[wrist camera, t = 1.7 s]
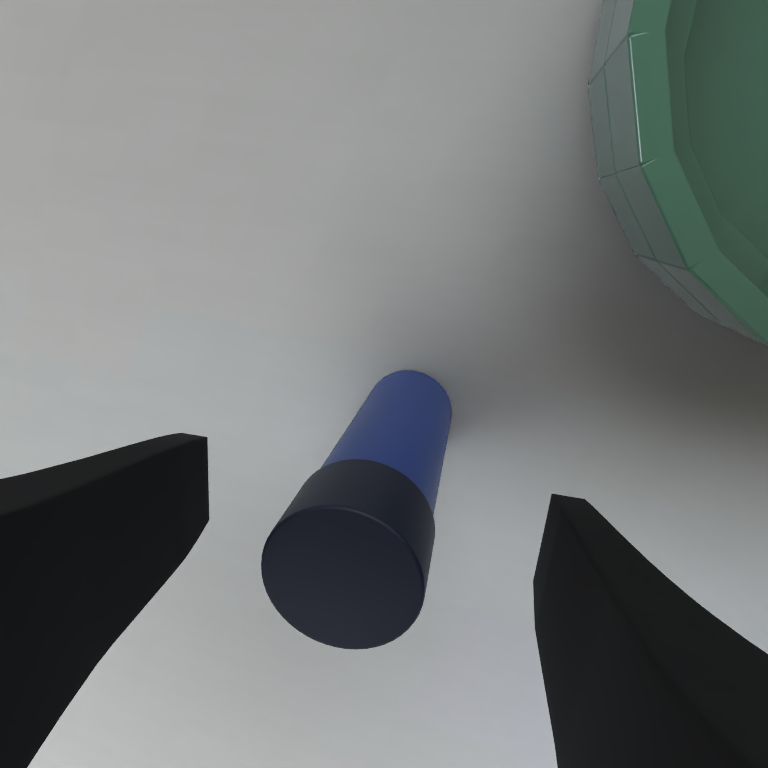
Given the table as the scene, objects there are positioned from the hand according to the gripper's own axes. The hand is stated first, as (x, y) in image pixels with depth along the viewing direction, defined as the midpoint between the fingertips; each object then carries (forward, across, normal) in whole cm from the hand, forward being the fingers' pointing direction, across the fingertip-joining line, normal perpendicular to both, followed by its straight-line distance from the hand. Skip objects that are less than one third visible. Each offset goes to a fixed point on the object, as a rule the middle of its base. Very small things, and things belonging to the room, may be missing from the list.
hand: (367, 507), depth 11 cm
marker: (+6, 0, 0) cm, 6 cm away
